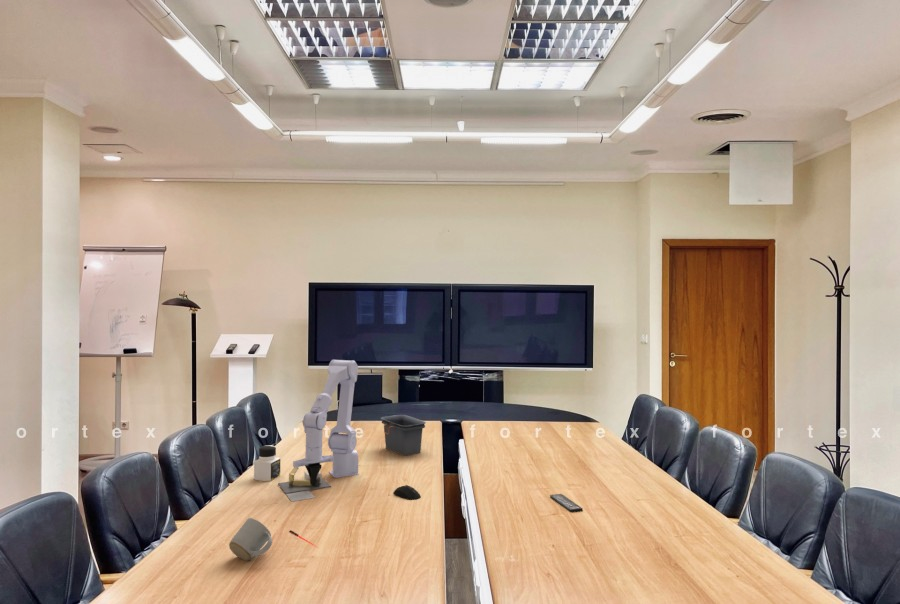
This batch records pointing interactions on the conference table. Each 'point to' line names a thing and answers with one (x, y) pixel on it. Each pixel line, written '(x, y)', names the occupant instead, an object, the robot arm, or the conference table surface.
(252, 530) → the ceramic mug
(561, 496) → the multiport hub
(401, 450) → the storage bin
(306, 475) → the cream foam cube
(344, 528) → the conference table surface
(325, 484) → the base plate
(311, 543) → the pen
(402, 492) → the gaming mouse
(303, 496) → the felt pad
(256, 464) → the medicine bottle
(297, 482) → the l-shaped bracket
